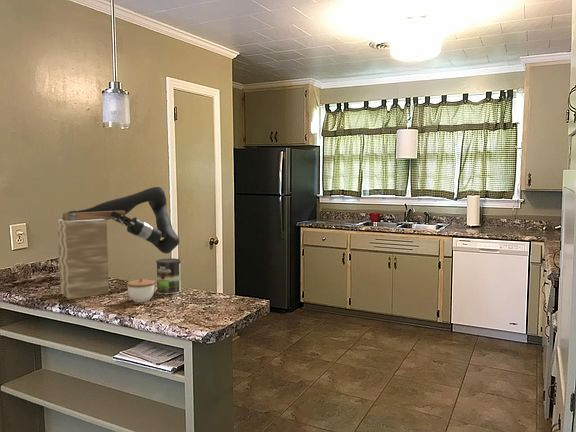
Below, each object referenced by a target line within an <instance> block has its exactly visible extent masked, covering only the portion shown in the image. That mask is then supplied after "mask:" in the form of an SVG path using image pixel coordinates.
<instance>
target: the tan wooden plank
mask: <svg viewBox="0 0 576 432" xmlns="http://www.w3.org/2000/svg"><path fill="white" fill-rule="evenodd" d="M112 212H113V211H101V212H79V213H67V212H63V213H62V218H63V220H64V221H75V220H92V219H109V220H111V219H110V218H115V217H113V216H111V213H112ZM114 212H116V213H118V214H120V216H121V215H123V216H126V215H125V211H114ZM115 219H116V218H115Z"/></svg>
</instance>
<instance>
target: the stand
mask: <svg viewBox="0 0 576 432" xmlns="http://www.w3.org/2000/svg"><path fill="white" fill-rule="evenodd" d="M107 221H108V220H106V219H92V220H75V221H64V220H63V219H62V218H61V219H57V235H58V236H57V237H58V260H59V262H58V263H59V265H58V266H59V286H60V287H59V288H60V294H62V296H64V297H65V298H67V299H68V300H73V299H75V300H76V299H80V298H86V297H93V296H98V295H106V294H110V286H109V285H110V282H109V254H108V252H109V250H108V249H109V248H108V228H107V227H108V225H107V224H108V222H107Z"/></svg>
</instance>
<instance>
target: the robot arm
mask: <svg viewBox="0 0 576 432" xmlns="http://www.w3.org/2000/svg"><path fill="white" fill-rule="evenodd" d="M147 202H148V205H149V206H150V208H151V209H152V211H153V214H154V216H155V222H156V223H155V224H156V227H154V226H152V225H151V224H149V223H147V222H145V221H143V220H142V219H140V218H138V217H135V216H134V217H132V219H131V218H130V217H129V216H126V215H127V214H129V213H130V212H131V211H132V210H133V209H134V208H136V207H137V206H138V205H141V204H144V203H147ZM167 207H168V206H167V197H166V193H165V190H164V189H163V188H162V187H160V186H153V187H150V188H147V189H144V190H141V191H139V192H136V193H132V194H129V195H126V196H122V197H120V198H116V199H115V198H114V199H112V200H111V199H110V200H108V201H105V202H101V203H99V204H96V205H95V206H91V207H89V208H85V209H80V210H69V211H68V212H66V213H79V212H101V211H113V212H112V213H111V216H113V217H115V218H110V219H106V220H107V221H108V220H109V221H110V220H112V221H115V222H117V223H118V224H120V225H122V226H124V227H126V232H127V233H129V234H132V235H133V236H135V237H137V238H139V239H142V240H145V241H147V242H149V243H151V244H152V245H153V246H154V247H155V248H157V250H159V251H160V252H161V253H163V254H170V253H171V252H173V250H174V249H175V248H176V247H177V246H178V245H179V244H180V237H179V236H178V235H177V233H176V232H175V230H174V229H173V226H172V223H171V219H170V217H169V215H168V209H167ZM114 211H125V216H123V215H121V216H120V214H118V213H116V212H114ZM61 219H63V217H62V218H61ZM161 238H163V239H161Z"/></svg>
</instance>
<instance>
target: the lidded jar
mask: <svg viewBox="0 0 576 432" xmlns="http://www.w3.org/2000/svg"><path fill="white" fill-rule="evenodd" d="M155 283H156V281H155V280H154V279H146V278H143V277H139V279H134V280H133V279H132V280H129V281H128V282H127V283H126V285H127V293H128V297H129V298H130V299H131V300H132V301H133V302H134V303H139V304H141V303H146V302H149V301H150V299H151V298H152V297H153V295H154V293H155V287H156V286H155Z"/></svg>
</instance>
